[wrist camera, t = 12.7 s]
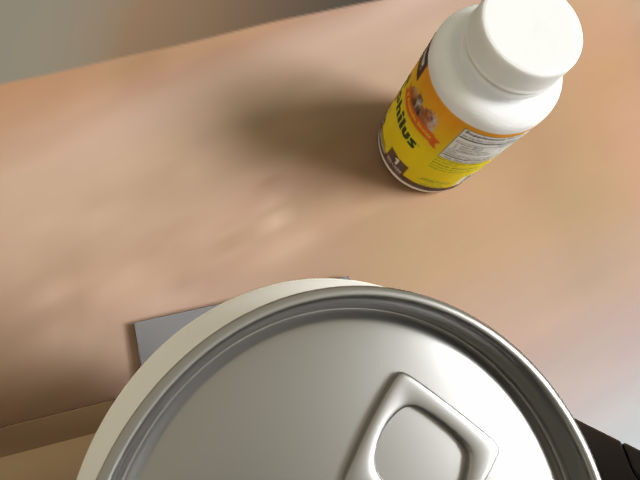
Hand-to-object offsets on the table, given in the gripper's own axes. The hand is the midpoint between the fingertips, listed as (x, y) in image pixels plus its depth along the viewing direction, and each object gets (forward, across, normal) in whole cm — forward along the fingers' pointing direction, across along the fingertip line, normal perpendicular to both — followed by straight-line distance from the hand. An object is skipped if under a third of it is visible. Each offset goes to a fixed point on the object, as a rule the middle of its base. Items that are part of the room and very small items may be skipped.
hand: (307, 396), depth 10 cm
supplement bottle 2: (+17, +10, -2) cm, 20 cm away
